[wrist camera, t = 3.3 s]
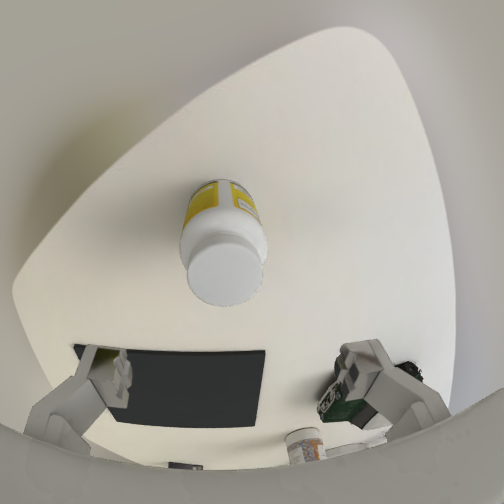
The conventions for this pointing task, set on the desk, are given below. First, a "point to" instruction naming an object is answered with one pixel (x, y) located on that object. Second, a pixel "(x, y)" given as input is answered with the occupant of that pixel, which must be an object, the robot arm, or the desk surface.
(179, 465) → the mini dv tape
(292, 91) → the desk surface
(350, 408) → the miniature car
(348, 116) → the desk surface
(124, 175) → the desk surface
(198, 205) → the supplement bottle
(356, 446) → the dish
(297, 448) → the bath foam
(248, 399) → the mat
